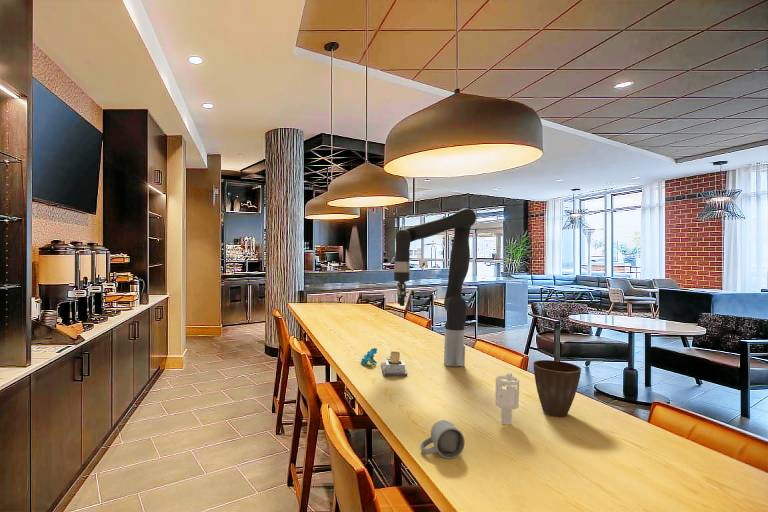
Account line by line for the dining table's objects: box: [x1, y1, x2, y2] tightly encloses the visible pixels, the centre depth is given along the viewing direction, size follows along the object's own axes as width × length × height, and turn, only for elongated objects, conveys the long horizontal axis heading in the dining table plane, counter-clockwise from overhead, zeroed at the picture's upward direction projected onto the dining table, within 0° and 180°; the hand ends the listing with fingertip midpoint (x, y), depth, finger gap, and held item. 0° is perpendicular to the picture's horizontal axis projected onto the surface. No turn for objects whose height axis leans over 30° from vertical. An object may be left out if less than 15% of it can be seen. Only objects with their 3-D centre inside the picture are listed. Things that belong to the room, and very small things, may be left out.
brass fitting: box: [390, 350, 401, 364], centre depth 181 cm, size 4×4×8 cm
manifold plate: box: [380, 355, 408, 377], centre depth 186 cm, size 10×18×5 cm, turn 4°
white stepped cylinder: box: [494, 371, 520, 426], centre depth 130 cm, size 7×7×15 cm
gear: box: [360, 347, 378, 367], centre depth 196 cm, size 11×6×10 cm
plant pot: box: [532, 359, 582, 418], centre depth 139 cm, size 15×15×16 cm
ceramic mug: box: [420, 420, 466, 459], centre depth 109 cm, size 11×8×8 cm
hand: (400, 304), depth 199 cm, fingers open, 8 cm apart
